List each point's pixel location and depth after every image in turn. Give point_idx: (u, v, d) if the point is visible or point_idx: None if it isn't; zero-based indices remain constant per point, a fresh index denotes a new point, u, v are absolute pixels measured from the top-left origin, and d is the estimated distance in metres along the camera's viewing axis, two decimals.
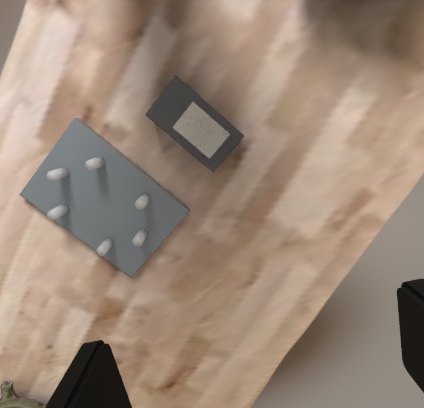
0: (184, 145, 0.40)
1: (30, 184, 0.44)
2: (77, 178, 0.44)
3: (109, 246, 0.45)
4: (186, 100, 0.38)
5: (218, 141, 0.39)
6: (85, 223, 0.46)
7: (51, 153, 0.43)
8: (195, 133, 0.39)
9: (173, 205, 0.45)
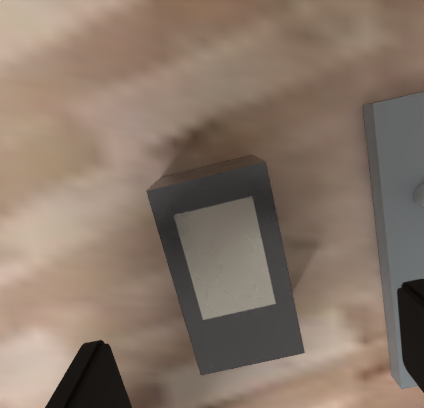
0: (280, 256, 0.16)
1: None
2: None
3: None
4: (212, 327, 0.17)
5: (207, 218, 0.16)
6: None
7: None
8: (242, 263, 0.16)
9: (390, 140, 0.18)
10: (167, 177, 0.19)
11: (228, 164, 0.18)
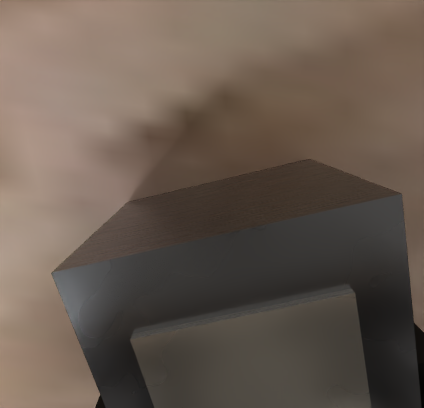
0: None
1: None
2: None
3: None
4: None
5: (223, 343, 0.06)
6: None
7: None
8: None
9: None
10: (135, 208, 0.09)
11: (269, 185, 0.08)
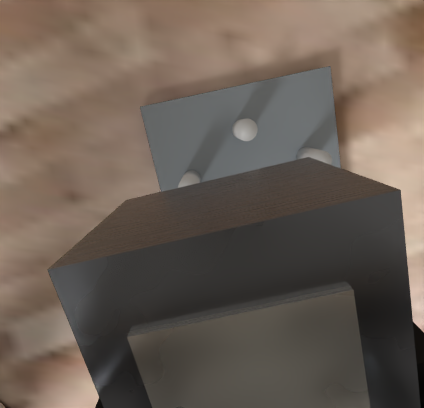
0: None
1: None
2: None
3: (305, 154, 0.22)
4: None
5: (220, 340, 0.06)
6: None
7: None
8: None
9: (158, 136, 0.23)
10: (133, 206, 0.09)
11: (268, 182, 0.08)
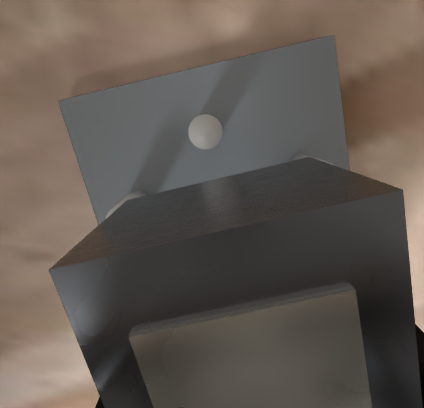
0: None
1: None
2: None
3: None
4: None
5: (222, 340, 0.06)
6: None
7: None
8: None
9: (88, 142, 0.16)
10: (134, 206, 0.09)
11: (269, 182, 0.08)
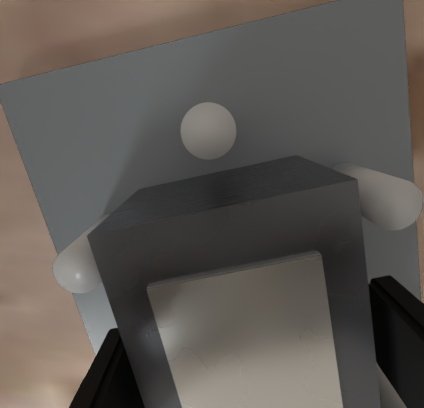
0: (367, 372, 0.08)
1: None
2: None
3: None
4: None
5: (219, 294, 0.07)
6: None
7: None
8: (287, 382, 0.08)
9: (40, 146, 0.11)
10: (146, 193, 0.11)
11: (260, 174, 0.09)
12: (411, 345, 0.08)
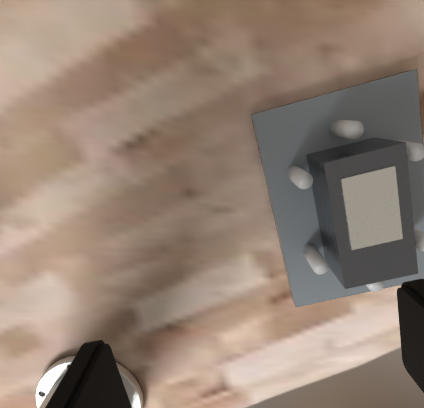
0: (408, 206, 0.24)
1: (410, 279, 0.31)
2: None
3: None
4: (357, 255, 0.25)
5: (362, 180, 0.24)
6: None
7: (353, 292, 0.32)
8: (382, 211, 0.24)
9: (267, 138, 0.28)
10: (316, 154, 0.27)
11: (365, 144, 0.26)
12: None
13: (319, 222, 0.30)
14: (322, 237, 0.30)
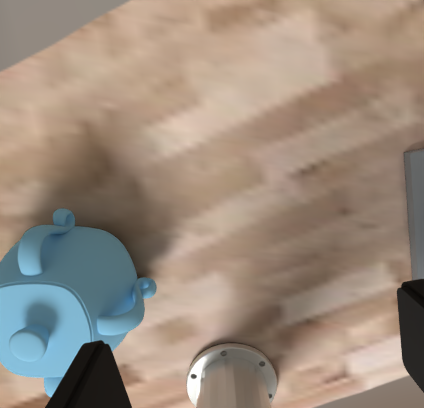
0: None
1: None
2: None
3: None
4: None
5: None
6: None
7: None
8: None
9: (418, 171, 0.36)
10: None
11: None
12: None
13: None
14: None
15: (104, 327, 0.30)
